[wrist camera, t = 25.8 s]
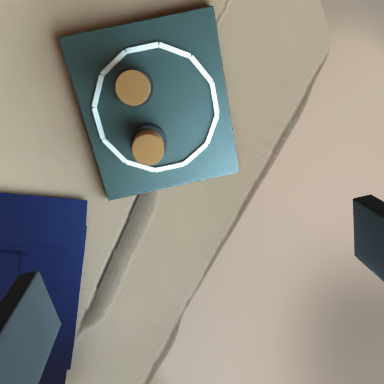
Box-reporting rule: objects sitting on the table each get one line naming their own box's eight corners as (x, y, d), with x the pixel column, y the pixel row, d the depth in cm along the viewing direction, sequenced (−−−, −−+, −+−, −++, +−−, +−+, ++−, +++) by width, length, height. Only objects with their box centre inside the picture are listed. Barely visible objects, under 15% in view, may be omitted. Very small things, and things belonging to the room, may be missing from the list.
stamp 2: (162, 119, 37) (163, 125, 32) (170, 154, 38) (172, 164, 33) (127, 127, 37) (122, 134, 32) (136, 161, 38) (133, 173, 33)
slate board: (211, 7, 35) (213, 5, 33) (237, 169, 41) (239, 172, 39) (60, 38, 34) (57, 37, 33) (109, 198, 40) (108, 201, 39)
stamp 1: (149, 63, 35) (148, 60, 30) (158, 101, 36) (158, 105, 31) (112, 70, 35) (105, 70, 30) (122, 109, 36) (117, 114, 31)
